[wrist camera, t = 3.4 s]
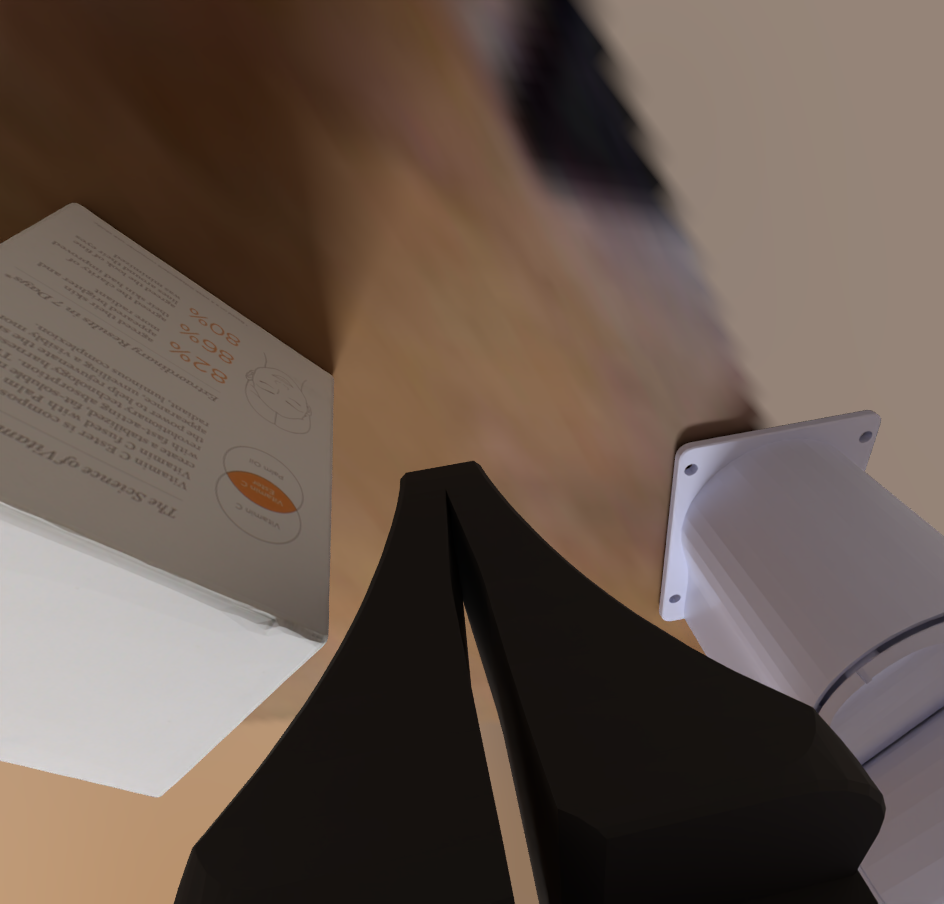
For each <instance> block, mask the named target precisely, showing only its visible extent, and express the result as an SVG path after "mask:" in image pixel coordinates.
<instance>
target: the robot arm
mask: <svg viewBox="0 0 944 904" xmlns="http://www.w3.org/2000/svg"><path fill="white" fill-rule="evenodd" d="M880 423H881V418H880V416H879V415H878V414H876V413H875V412H873V411H871V410H865V411H859V412H853V413H848V414H843V415H838V416H832V417H826V418H821V419H815V420H810V421H805V422H799V423H794V424H788V425H782V426H777V427H771V428H766V429H761V430H755V431H750V432H744V433H739V434H733V435H728V436H722V437H717V438H712V439H706V440H701V441H695V442H690V443H687V444H684V445H683V446H681V447H680V448H679V449H678V451H677V453H676V456H675V464H674V474H673V483H672V492H671V502H670V511H669V521H668V530H667V540H666V549H665V558H664V568H663V577H662V587H661V596H660V605H659V613H660V615H661V617H662V618H663V619H664V620H665V621H674V620H679V619H684V618H685V620H686V622H687V623H688V625H689V627H690V628H691V630H692V632H693V634H694V635H695V637H696V639H697V640H698V642H699V644H700V645H701V647H702V649H703V651H704V652H705V654H706V656H705V655H704V654H702V653H700V652H698V651H696V650H694V649H692V648H691V647H689V646H687V645H686V644H684V643H683V642H681V641H679V640H678V639H676V638H675V637H673V636H671V635H670V634H668V633H666V632H665V631H663V630H662V629H660V628H658V627H657V626H655V625H653V624H652V623H650V622H649V621H647V620H645V619H644V618H642V617H640V616H639V615H637V614H636V613H634V612H633V611H632V610H630V609H629V608H627V607H626V606H624V605H623V604H622V603H620V602H619V601H617V600H616V599H615V598H613V597H612V596H610V595H609V594H608V593H606V592H605V591H604V590H602V589H601V588H600V587H598V586H597V585H596V584H595V583H593V582H592V581H591V580H589V579H588V578H587V577H586V576H584V575H583V574H582V573H581V572H579V571H578V570H577V569H576V568H575V567H574V566H572V565H571V564H570V563H569V562H568V561H567V560H565V559H564V558H563V557H562V556H561V555H560V554H559V553H558V552H557V551H556V550H554V549H553V548H552V547H551V546H550V545H549V544H548V543H547V542H546V541H545V540H544V539H543V538H542V537H541V536H540V535H539V534H538V533H537V532H536V531H535V530H534V529H533V528H532V527H531V526H530V525H529V524H528V523H527V522H526V521H525V520H524V519H523V518H522V517H521V516H520V515H519V514H518V513H517V512H516V510H515V509H514V508H513V507H512V506H511V505H510V504H509V503H508V501H507V500H506V499H505V498H504V497H503V495H502V494H501V493H500V492H499V491H498V489H497V488H496V487H495V486H494V484H493V483H492V482H491V480H490V479H489V478H488V476H487V475H486V473H485V472H484V470H483V469H482V467H481V466H480V465H479V464H478V463H476V462H475V461H470V462H464V463H458V464H453V465H447V466H442V467H436V468H431V469H425V470H420V471H414V472H408V473H405V475H404V476H403V477H402V478H401V479H400V491H399V497H398V502H397V507H396V511H395V515H394V518H393V522H392V526H391V529H390V532H389V535H388V538H387V541H386V544H385V547H384V550H383V553H382V556H381V559H380V561H379V564H378V566H377V569H376V571H375V574H374V576H373V578H372V581H371V583H370V586H369V588H368V591H367V593H366V595H365V598H364V600H363V602H362V604H361V606H360V608H359V610H358V612H357V614H356V616H355V619H354V621H353V623H352V624H351V626H350V628H349V630H348V632H347V634H346V636H345V638H344V640H343V641H342V643H341V645H340V647H339V649H338V650H337V652H336V654H335V656H334V657H333V659H332V661H331V662H330V664H329V666H328V667H327V669H326V671H325V672H324V674H323V676H322V677H321V679H320V681H319V682H318V684H317V686H316V687H315V689H314V690H313V692H312V693H311V695H310V696H309V698H308V700H307V701H306V703H305V704H304V706H303V707H302V708H301V710H300V711H299V713H298V714H297V715H296V717H295V718H294V720H293V721H292V722H291V724H290V725H289V727H288V728H287V729H286V731H285V732H284V734H283V735H282V736H281V738H280V739H279V741H278V742H277V743H276V745H275V746H274V748H273V749H272V750H271V752H270V753H269V755H268V756H267V757H266V759H265V760H264V761H263V763H262V764H261V765H260V767H259V768H258V769H257V770H256V772H255V773H254V774H253V776H252V777H251V778H250V779H249V780H248V782H247V783H246V784H245V785H244V786H243V788H242V789H241V790H240V791H239V792H238V794H237V795H236V796H235V797H234V799H233V800H232V801H231V802H230V803H229V805H228V806H227V807H226V808H225V809H224V811H223V812H222V813H221V814H220V816H219V817H218V818H217V819H216V820H215V822H214V823H213V824H212V825H211V826H210V828H209V829H208V830H207V831H206V833H205V834H204V835H203V836H202V837H201V838H200V840H199V841H198V842H197V843H196V844H195V845H194V847H193V848H192V851H191V854H190V856H189V859H188V861H187V865H186V867H185V870H184V873H183V876H182V879H181V882H180V885H179V888H178V891H177V894H176V898H175V901H174V904H515V902H514V896H513V891H512V886H511V881H510V876H509V871H508V866H507V861H506V855H505V850H504V845H503V841H502V835H501V830H500V825H499V820H498V815H497V811H496V806H495V801H494V797H493V792H492V786H491V782H490V777H489V772H488V767H487V762H486V757H485V752H484V747H483V743H482V738H481V733H480V728H479V723H478V718H477V713H476V708H475V703H474V698H473V693H472V688H471V679H470V669H469V658H468V648H467V637H466V627H465V617H464V606H465V609H466V612H467V615H468V619H469V622H470V625H471V628H472V632H473V635H474V638H475V641H476V645H477V648H478V651H479V654H480V657H481V661H482V664H483V667H484V670H485V673H486V677H487V680H488V683H489V686H490V689H491V693H492V696H493V699H494V702H495V706H496V709H497V712H498V716H499V720H500V724H501V727H502V731H503V734H504V739H505V744H506V749H507V753H508V758H509V762H510V767H511V772H512V777H513V781H514V785H515V791H516V795H517V800H518V804H519V809H520V814H521V819H522V824H523V828H524V833H525V838H526V842H527V847H528V852H529V856H530V861H531V866H532V871H533V876H534V881H535V886H536V890H537V895H538V900H539V904H944V536H943V535H942V534H941V533H939V532H938V531H937V530H936V529H935V528H933V527H932V526H931V525H929V524H928V523H927V522H926V521H925V520H924V519H922V518H921V517H919V515H917V514H916V513H915V512H914V511H912V510H911V509H910V508H909V507H908V506H906V505H905V504H904V503H902V502H901V501H900V500H899V499H898V498H896V497H895V496H894V495H893V494H892V493H890V492H889V491H888V490H887V489H885V488H884V487H883V486H882V485H881V484H879V483H878V482H877V481H875V480H874V479H873V478H872V477H871V476H869V475H868V474H867V473H866V472H865V469H866V466H867V463H868V460H869V457H870V454H871V451H872V448H873V445H874V442H875V439H876V436H877V433H878V429H879V426H880ZM691 464H692V466H691V467H690V468H688V469H686V470H685V468H686V467H687V466H688V465H691ZM463 602H464V606H463Z"/></svg>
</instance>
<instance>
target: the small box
mask: <svg viewBox="0 0 944 904" xmlns="http://www.w3.org/2000/svg"><path fill="white" fill-rule="evenodd" d="M333 398H334V378H333V376H332V375H331V374H329V373H328V372H326V371H324V370H323V369H321V368H320V367H318V366H317V365H315V364H314V363H312V362H311V361H309V360H308V359H306V358H305V357H303V356H302V355H300V354H299V353H297V352H296V351H295V350H293V349H292V348H290V347H289V346H287V345H286V344H284V343H283V342H281V341H280V340H278V339H277V338H275V337H274V336H273V335H271V334H270V333H268V332H267V331H265V330H264V329H262V328H261V327H259V326H258V325H256V324H255V323H253V322H252V321H250V320H249V319H247V318H246V317H244V316H243V315H241V314H240V313H239V312H237V311H236V310H234V309H233V308H231V307H230V306H228V305H227V304H225V303H224V302H222V301H221V300H220V299H218V298H217V297H215V296H214V295H212V294H211V293H209V292H208V291H206V290H205V289H203V288H202V287H200V286H199V285H197V284H196V283H194V282H193V281H192V280H190V279H189V278H187V277H186V276H184V275H183V274H181V273H180V272H178V271H177V270H175V269H174V268H172V267H171V266H169V265H168V264H166V263H165V262H163V261H162V260H160V259H159V258H157V257H156V256H155V255H153V254H152V253H150V252H149V251H147V250H146V249H144V248H143V247H141V246H140V245H138V244H137V243H135V242H134V241H132V240H131V239H130V238H128V237H127V236H125V235H124V234H122V233H121V232H119V231H118V230H116V229H115V228H113V227H112V226H110V225H109V224H108V223H106V222H105V221H103V220H102V219H100V218H99V217H97V216H96V215H94V214H93V213H92V212H90V211H89V210H88V209H86V208H85V207H83V206H81V205H80V204H78V203H70V204H68V205H66V206H64V207H63V208H61V209H59V210H57V211H56V212H54V213H53V214H51V215H49V216H47V217H46V218H44V219H42V220H41V221H39V222H37V223H35V224H34V225H32V226H30V227H29V228H27V229H25V230H23V231H21V232H20V233H18V234H16V235H14V236H13V237H11V238H9V239H8V240H6V241H4V242H3V243H1V244H0V761H4V762H8V763H13V764H17V765H21V766H26V767H30V768H34V769H38V770H42V771H46V772H50V773H55V774H59V775H63V776H68V777H73V778H77V779H81V780H85V781H89V782H93V783H97V784H101V785H105V786H110V787H114V788H118V789H122V790H127V791H131V792H135V793H140V794H144V795H147V796H151V797H161V796H162V795H163V794H164V793H165V792H166V791H167V790H168V789H169V788H171V787H172V786H173V785H174V784H175V783H177V782H178V781H179V780H180V779H181V778H182V777H183V776H184V775H185V774H186V773H188V772H189V771H190V770H191V769H192V768H193V767H194V766H195V765H196V764H197V763H198V762H199V761H200V760H201V759H202V758H203V757H204V756H206V755H207V754H208V753H209V752H210V751H211V750H212V749H213V748H214V747H215V746H216V745H217V744H218V743H219V742H220V741H222V740H223V739H224V738H225V737H226V736H227V735H228V734H229V733H230V732H231V731H232V730H233V729H234V728H235V727H237V726H238V725H239V724H240V723H241V722H242V721H243V720H244V719H245V718H246V717H247V716H248V715H249V714H250V713H251V712H252V711H254V710H255V709H256V708H257V707H258V706H259V705H260V704H261V703H262V702H263V701H264V700H265V699H266V698H267V697H268V696H269V695H270V694H272V693H273V692H274V691H275V690H276V689H277V688H278V687H279V686H280V685H281V684H282V683H283V682H284V681H285V680H286V679H288V678H289V677H290V676H291V675H292V674H293V673H294V672H295V671H296V670H297V669H299V668H300V667H301V666H302V665H303V664H304V663H305V662H306V661H307V660H308V659H309V658H311V657H312V656H313V655H314V654H315V653H316V652H317V651H318V650H320V649H321V648H322V647H323V646H324V644H325V643H326V642H327V639H328V628H329V578H330V541H331V492H332V448H333Z"/></svg>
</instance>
